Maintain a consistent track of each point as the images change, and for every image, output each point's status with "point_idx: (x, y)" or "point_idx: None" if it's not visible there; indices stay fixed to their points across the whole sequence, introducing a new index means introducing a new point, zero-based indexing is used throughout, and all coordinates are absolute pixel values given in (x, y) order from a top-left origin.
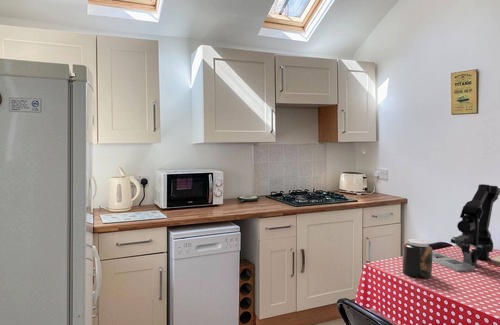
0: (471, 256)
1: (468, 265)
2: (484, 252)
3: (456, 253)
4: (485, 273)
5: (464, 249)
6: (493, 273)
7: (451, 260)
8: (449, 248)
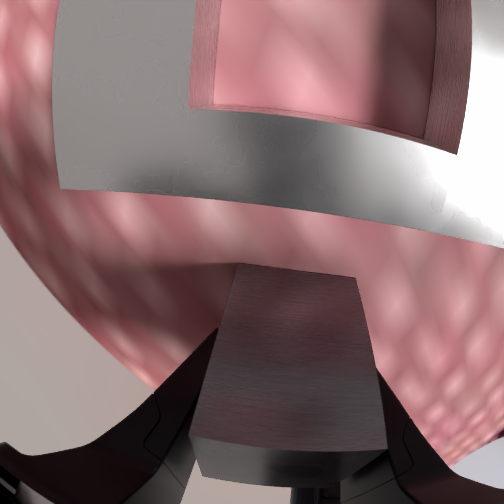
0: (205, 393)
1: (80, 84)
2: (299, 493)
3: (468, 415)
4: (20, 183)
5: (388, 491)
6: (27, 253)
7: (460, 95)
8: (497, 425)
